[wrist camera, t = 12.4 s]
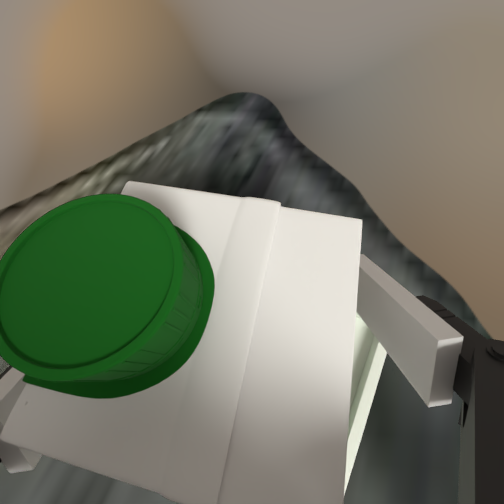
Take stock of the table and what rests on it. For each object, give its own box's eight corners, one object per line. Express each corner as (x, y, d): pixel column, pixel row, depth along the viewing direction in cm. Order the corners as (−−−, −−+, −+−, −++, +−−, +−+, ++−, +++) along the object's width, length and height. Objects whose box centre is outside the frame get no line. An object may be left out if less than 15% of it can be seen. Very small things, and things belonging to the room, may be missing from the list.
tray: (104, 387, 24) (89, 388, 22) (199, 238, 29) (194, 228, 27) (321, 530, 19) (328, 549, 17) (386, 323, 25) (396, 319, 23)
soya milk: (211, 296, 26) (81, 109, 7) (306, 316, 25) (427, 153, 6) (181, 398, 22) (-190, 511, 4) (290, 427, 21) (456, 765, 3)
